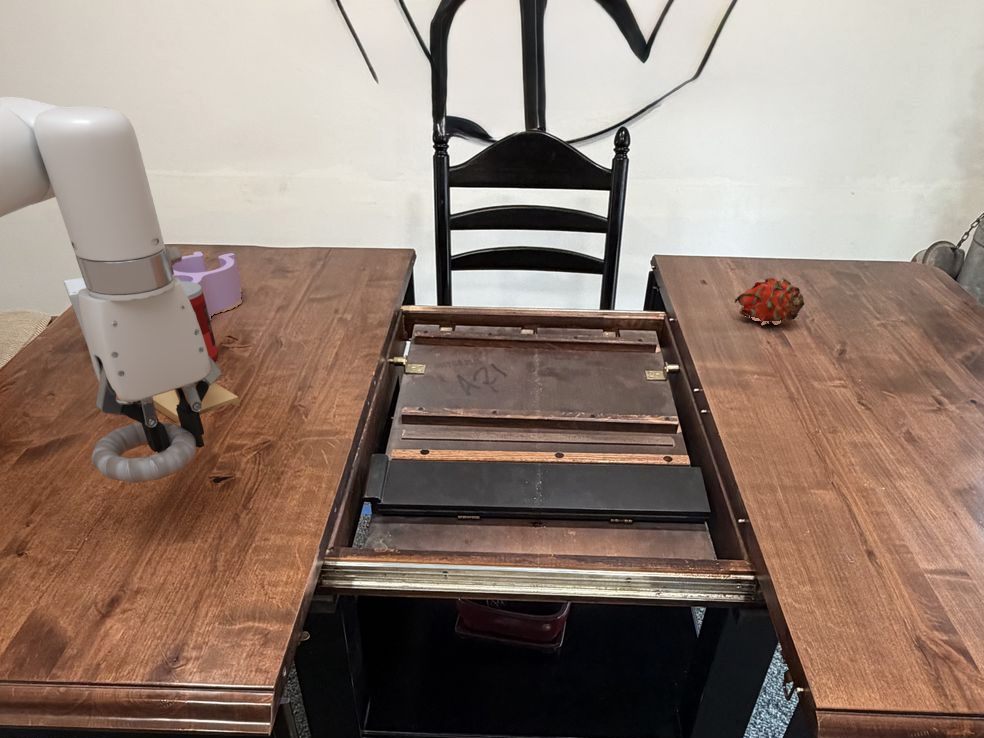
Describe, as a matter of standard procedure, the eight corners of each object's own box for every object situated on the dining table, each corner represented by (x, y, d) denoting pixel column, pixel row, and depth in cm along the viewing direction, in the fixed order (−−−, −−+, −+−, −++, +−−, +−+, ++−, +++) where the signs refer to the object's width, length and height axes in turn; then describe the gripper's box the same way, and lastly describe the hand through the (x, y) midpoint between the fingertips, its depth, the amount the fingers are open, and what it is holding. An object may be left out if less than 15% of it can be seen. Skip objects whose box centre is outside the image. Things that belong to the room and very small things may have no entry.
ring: (124, 498, 70) (116, 477, 68) (80, 460, 75) (72, 439, 73) (216, 461, 76) (210, 441, 74) (169, 428, 81) (163, 409, 79)
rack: (183, 427, 98) (158, 345, 90) (151, 406, 103) (125, 326, 95) (240, 406, 103) (221, 326, 95) (208, 386, 107) (187, 309, 100)
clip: (212, 330, 124) (201, 289, 119) (144, 326, 125) (131, 285, 120) (254, 291, 139) (247, 254, 134) (193, 288, 140) (184, 250, 135)
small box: (130, 356, 115) (108, 289, 108) (93, 362, 113) (68, 294, 106) (122, 339, 120) (100, 274, 113) (86, 345, 118) (62, 279, 111)
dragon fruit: (799, 338, 129) (731, 338, 134) (805, 298, 131) (737, 299, 135) (804, 309, 122) (731, 310, 126) (810, 266, 123) (738, 268, 127)
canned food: (157, 366, 113) (135, 294, 105) (188, 347, 118) (169, 278, 111) (199, 373, 111) (180, 301, 104) (228, 353, 117) (211, 284, 109)
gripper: (188, 245, 71) (227, 412, 84) (16, 280, 62) (89, 462, 75) (228, 262, 68) (263, 435, 80) (52, 302, 59) (122, 491, 71)
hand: (179, 447), depth 77 cm, fingers closed on ring, 2 cm apart
